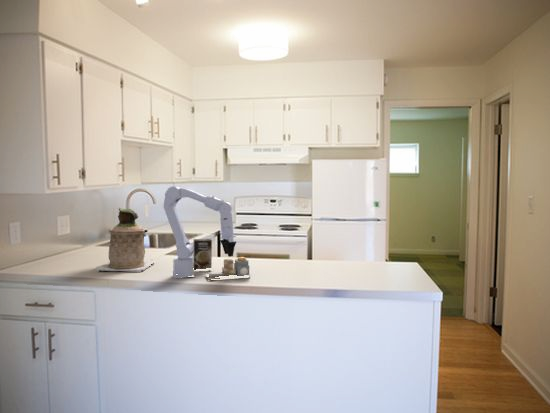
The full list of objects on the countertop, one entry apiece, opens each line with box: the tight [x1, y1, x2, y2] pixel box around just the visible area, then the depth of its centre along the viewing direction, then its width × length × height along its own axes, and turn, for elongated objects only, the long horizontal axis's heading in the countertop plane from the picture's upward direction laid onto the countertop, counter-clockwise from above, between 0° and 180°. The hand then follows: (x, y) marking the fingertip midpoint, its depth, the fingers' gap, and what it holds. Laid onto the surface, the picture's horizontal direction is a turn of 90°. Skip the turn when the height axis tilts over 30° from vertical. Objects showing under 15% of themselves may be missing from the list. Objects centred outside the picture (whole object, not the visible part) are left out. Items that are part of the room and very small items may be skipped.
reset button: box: [237, 256, 246, 261], centre depth 198 cm, size 4×4×2 cm
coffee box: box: [192, 238, 213, 271], centre depth 211 cm, size 9×6×16 cm
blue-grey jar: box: [233, 258, 250, 276], centre depth 198 cm, size 6×8×7 cm, turn 19°
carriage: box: [221, 258, 235, 275], centre depth 196 cm, size 5×6×7 cm
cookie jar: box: [95, 207, 156, 273], centre depth 216 cm, size 25×25×32 cm
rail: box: [208, 271, 236, 277], centre depth 196 cm, size 13×2×2 cm, turn 109°
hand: (228, 255), depth 196 cm, fingers open, 7 cm apart
